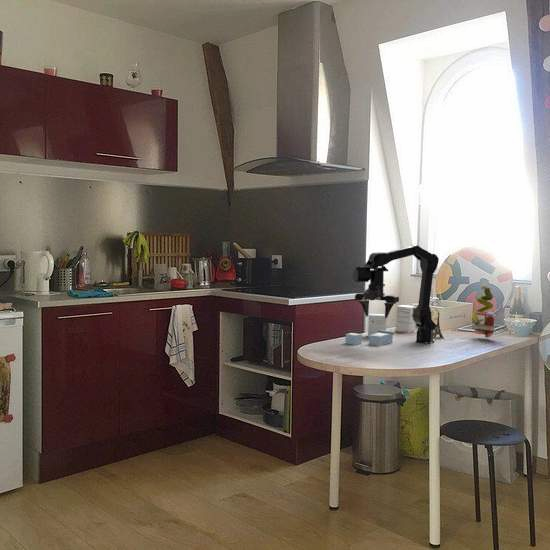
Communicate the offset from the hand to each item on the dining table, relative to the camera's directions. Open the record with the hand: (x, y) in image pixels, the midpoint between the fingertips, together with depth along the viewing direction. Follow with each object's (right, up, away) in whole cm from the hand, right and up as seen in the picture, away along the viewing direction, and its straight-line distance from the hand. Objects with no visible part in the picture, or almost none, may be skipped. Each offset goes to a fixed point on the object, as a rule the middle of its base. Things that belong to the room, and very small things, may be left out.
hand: (376, 317), depth 278 cm
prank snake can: (+53, -12, +23) cm, 59 cm away
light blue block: (-10, -11, -2) cm, 15 cm away
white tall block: (+20, -10, +38) cm, 44 cm away
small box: (+3, -10, +17) cm, 20 cm away
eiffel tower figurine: (+31, -12, +21) cm, 39 cm away
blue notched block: (+2, -11, 0) cm, 11 cm away
